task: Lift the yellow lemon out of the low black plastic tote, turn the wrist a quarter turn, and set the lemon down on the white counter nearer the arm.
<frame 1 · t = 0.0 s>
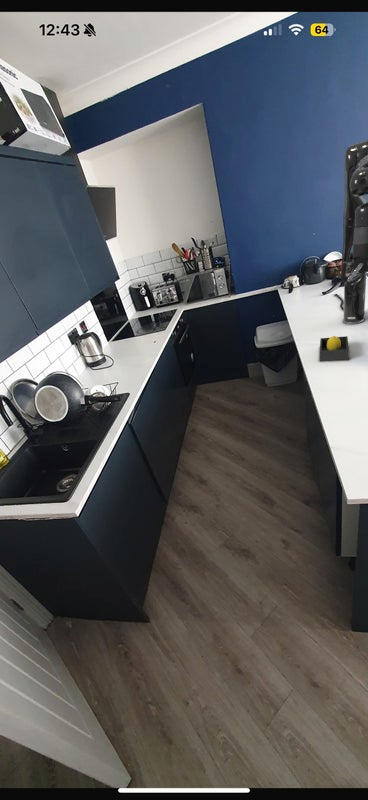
hand: (363, 289, 110), 29 cm above the counter, tool pointing down, fingers open, 8 cm apart
tote: (333, 353, 136), on the counter
lemon: (333, 353, 136), resting on tote
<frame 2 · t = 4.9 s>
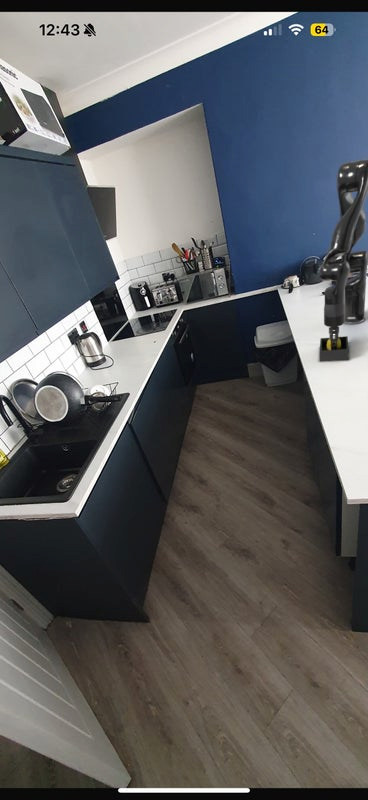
hand: (333, 350, 135), 2 cm above the counter, tool pointing down, fingers closed on lemon, 5 cm apart
lemon: (333, 353, 136), resting on tote, touching gripper
when the fingers open (1 cm above the counter, at t = 12.6 s): lemon stays where it is, on the counter.
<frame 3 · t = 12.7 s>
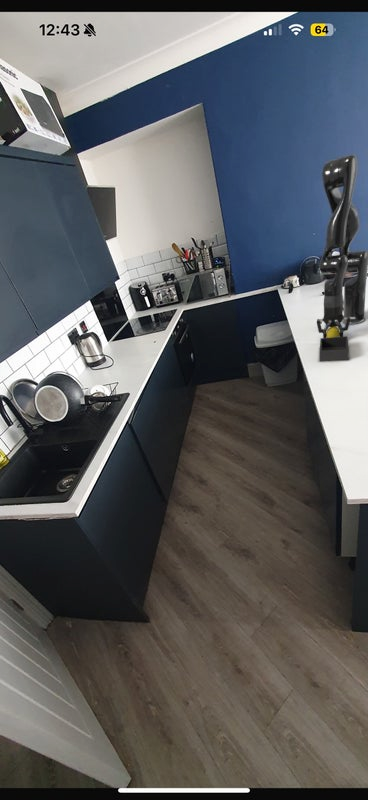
hand: (332, 339, 144), 1 cm above the counter, tool pointing down, fingers open, 5 cm apart
lemon: (332, 342, 145), on the counter
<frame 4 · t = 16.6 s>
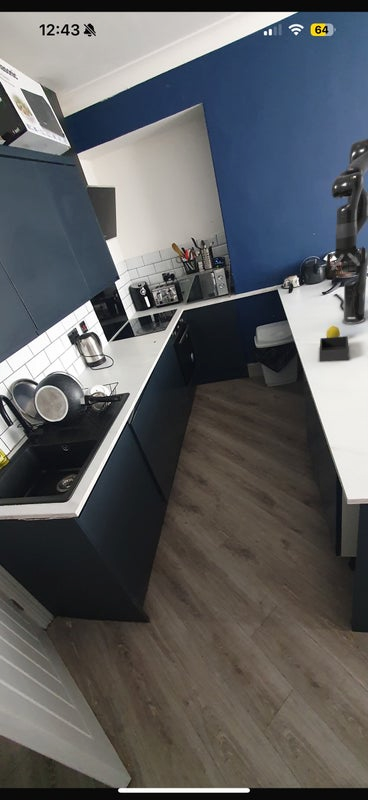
hand: (345, 276, 131), 28 cm above the counter, tool pointing down, fingers open, 8 cm apart
nothing on the counter moved.
at the end: lemon inside the target area (0.6 cm from its centre), on the counter; lemon touching counter; the gripper is holding nothing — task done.
